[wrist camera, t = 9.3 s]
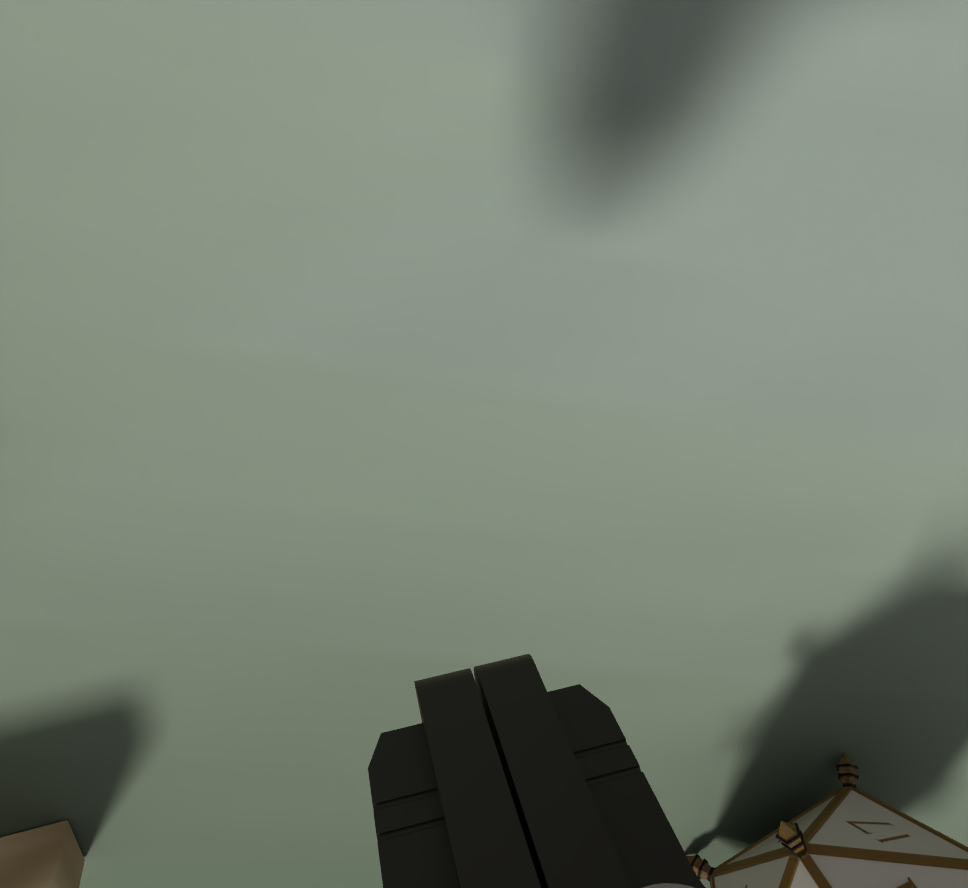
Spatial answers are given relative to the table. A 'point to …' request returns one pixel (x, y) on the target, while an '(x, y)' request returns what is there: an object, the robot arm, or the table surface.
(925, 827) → the game die
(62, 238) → the table surface
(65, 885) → the box
